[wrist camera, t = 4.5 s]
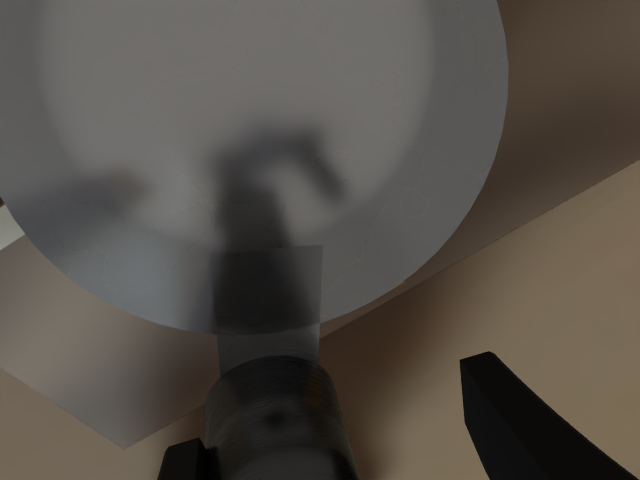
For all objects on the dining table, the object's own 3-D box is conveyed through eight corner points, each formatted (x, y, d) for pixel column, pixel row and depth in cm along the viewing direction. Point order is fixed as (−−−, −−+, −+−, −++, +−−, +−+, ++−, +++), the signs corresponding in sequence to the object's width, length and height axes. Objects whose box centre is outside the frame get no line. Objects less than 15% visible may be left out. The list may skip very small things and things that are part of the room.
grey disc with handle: (-59, -185, 8) (-456, -260, 3) (492, -159, 9) (820, -183, 4) (100, 392, 14) (55, 659, 9) (408, 354, 15) (504, 569, 11)
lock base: (669, 88, 17) (769, 135, 14) (129, 400, 19) (119, 492, 17) (511, -871, 8) (701, -1309, 5) (-454, -33, 10) (-693, 6, 8)
